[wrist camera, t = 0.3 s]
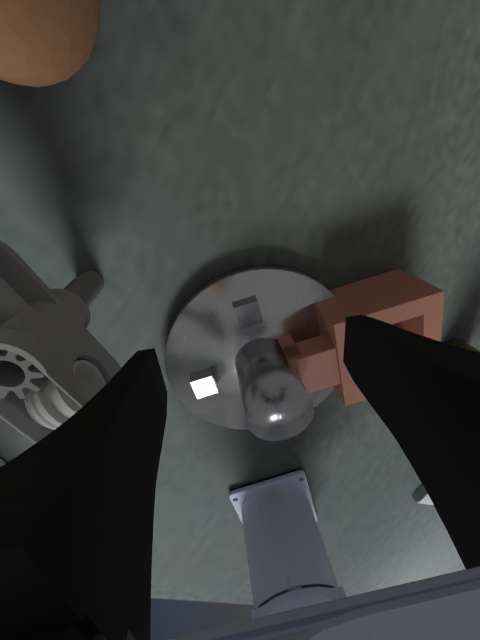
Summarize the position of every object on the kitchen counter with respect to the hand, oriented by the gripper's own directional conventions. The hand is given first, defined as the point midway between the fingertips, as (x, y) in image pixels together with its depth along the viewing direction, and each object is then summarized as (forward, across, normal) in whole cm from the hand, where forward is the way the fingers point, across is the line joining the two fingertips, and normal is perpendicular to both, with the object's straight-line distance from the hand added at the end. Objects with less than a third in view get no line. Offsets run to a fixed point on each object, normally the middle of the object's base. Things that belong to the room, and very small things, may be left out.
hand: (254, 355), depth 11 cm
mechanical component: (+10, +9, -1) cm, 13 cm away
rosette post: (+10, -2, +7) cm, 12 cm away
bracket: (+10, -8, +6) cm, 14 cm away
